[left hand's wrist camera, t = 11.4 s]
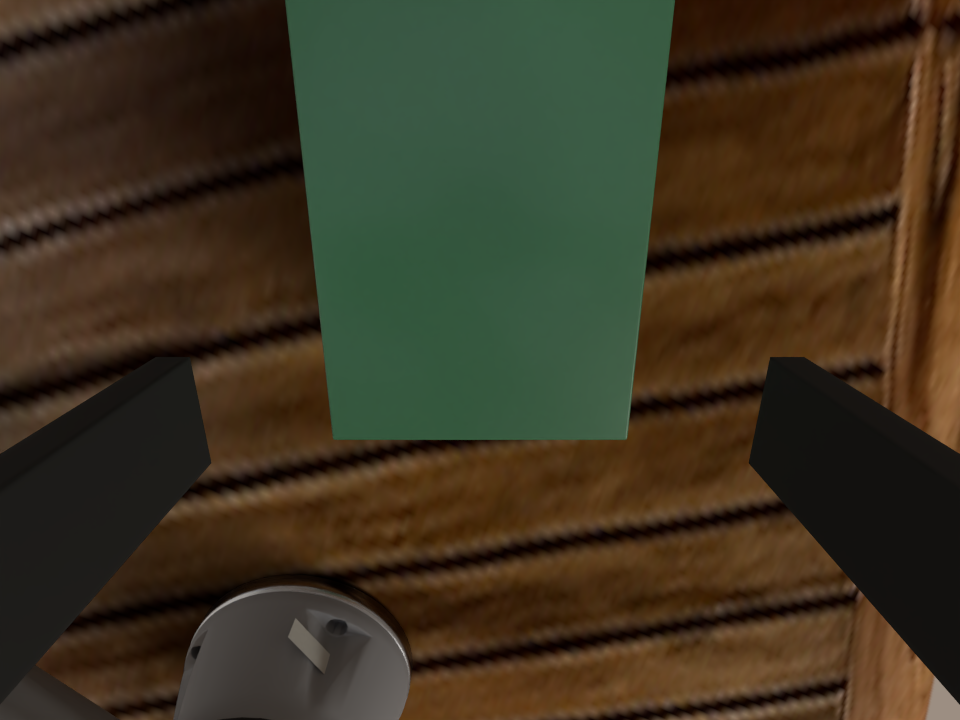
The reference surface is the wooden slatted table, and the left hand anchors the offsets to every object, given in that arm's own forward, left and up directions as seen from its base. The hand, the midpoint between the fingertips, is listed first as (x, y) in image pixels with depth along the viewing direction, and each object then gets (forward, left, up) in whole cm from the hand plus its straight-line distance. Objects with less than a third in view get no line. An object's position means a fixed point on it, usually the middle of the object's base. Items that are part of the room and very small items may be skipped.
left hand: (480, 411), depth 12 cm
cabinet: (+1, +6, -18) cm, 18 cm away
